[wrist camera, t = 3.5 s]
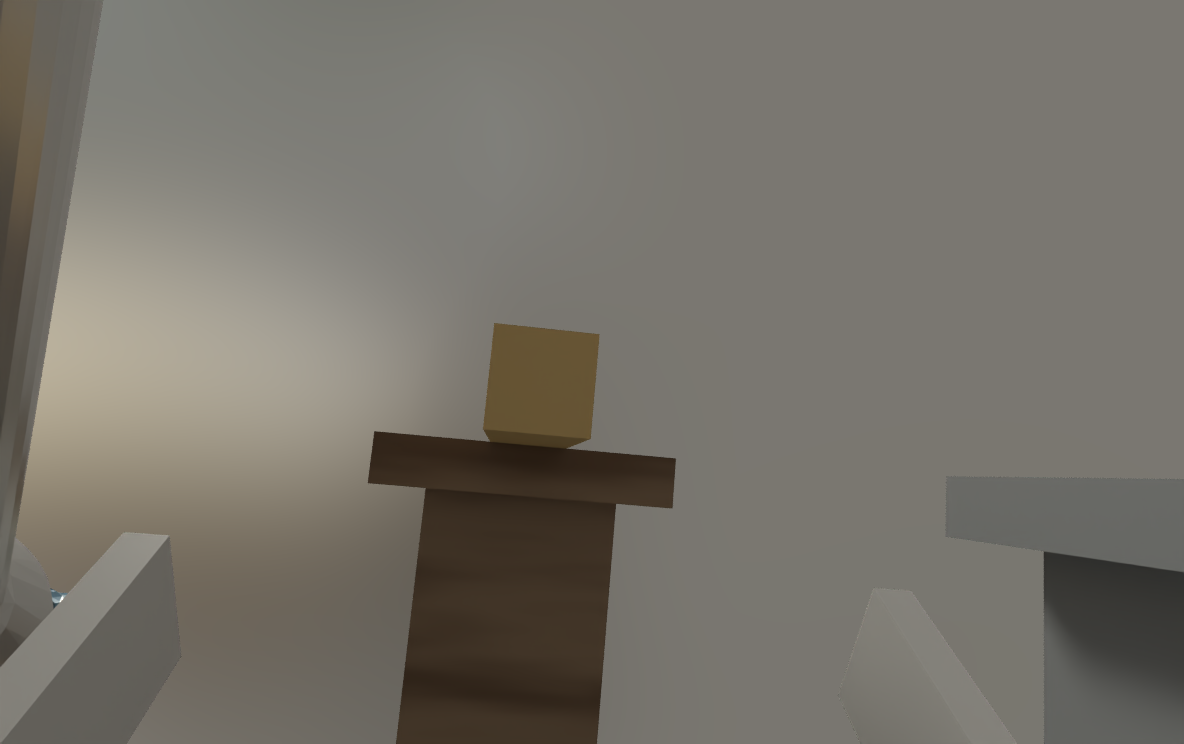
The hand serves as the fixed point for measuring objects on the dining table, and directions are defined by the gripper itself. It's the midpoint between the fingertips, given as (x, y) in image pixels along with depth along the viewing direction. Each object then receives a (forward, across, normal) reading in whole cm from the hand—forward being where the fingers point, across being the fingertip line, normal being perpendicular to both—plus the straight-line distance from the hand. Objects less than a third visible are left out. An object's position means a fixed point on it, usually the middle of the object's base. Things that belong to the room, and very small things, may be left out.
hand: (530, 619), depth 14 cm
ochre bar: (+17, 0, -5) cm, 17 cm away
